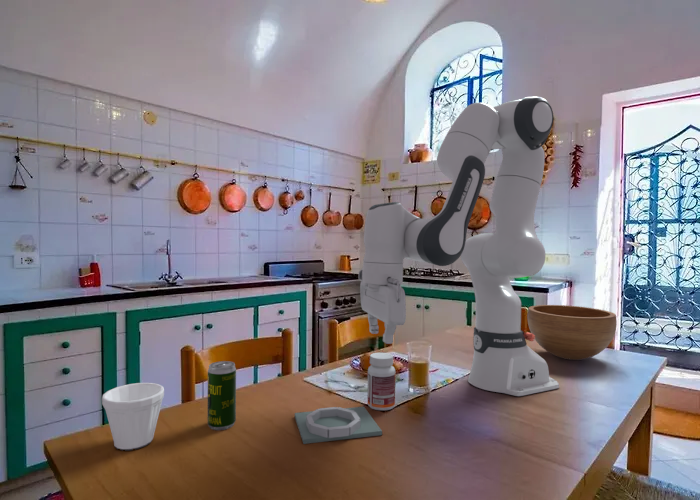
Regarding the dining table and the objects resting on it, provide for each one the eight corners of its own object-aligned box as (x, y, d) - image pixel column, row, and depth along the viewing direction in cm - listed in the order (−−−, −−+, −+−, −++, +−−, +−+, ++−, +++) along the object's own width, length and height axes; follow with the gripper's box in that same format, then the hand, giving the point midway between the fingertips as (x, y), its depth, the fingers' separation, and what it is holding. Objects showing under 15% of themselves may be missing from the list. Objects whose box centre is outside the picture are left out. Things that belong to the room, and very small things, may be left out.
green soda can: (220, 417, 88) (220, 359, 88) (241, 422, 86) (241, 363, 86) (201, 427, 83) (201, 366, 83) (223, 433, 81) (223, 370, 81)
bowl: (515, 347, 149) (516, 304, 148) (588, 348, 148) (590, 305, 147) (545, 369, 124) (546, 317, 123) (633, 371, 123) (635, 319, 122)
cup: (94, 460, 71) (94, 405, 70) (110, 433, 80) (109, 384, 80) (160, 452, 73) (160, 399, 73) (167, 427, 83) (167, 380, 83)
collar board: (363, 410, 93) (363, 399, 93) (382, 436, 81) (383, 424, 81) (294, 416, 89) (294, 405, 89) (303, 445, 77) (303, 432, 77)
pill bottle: (400, 407, 94) (401, 356, 94) (378, 413, 91) (379, 360, 91) (383, 398, 100) (384, 350, 99) (361, 404, 96) (362, 354, 96)
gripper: (414, 280, 85) (412, 349, 85) (381, 272, 105) (379, 328, 105) (385, 280, 84) (382, 350, 84) (356, 271, 103) (354, 328, 104)
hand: (380, 337), depth 95 cm, fingers open, 8 cm apart
